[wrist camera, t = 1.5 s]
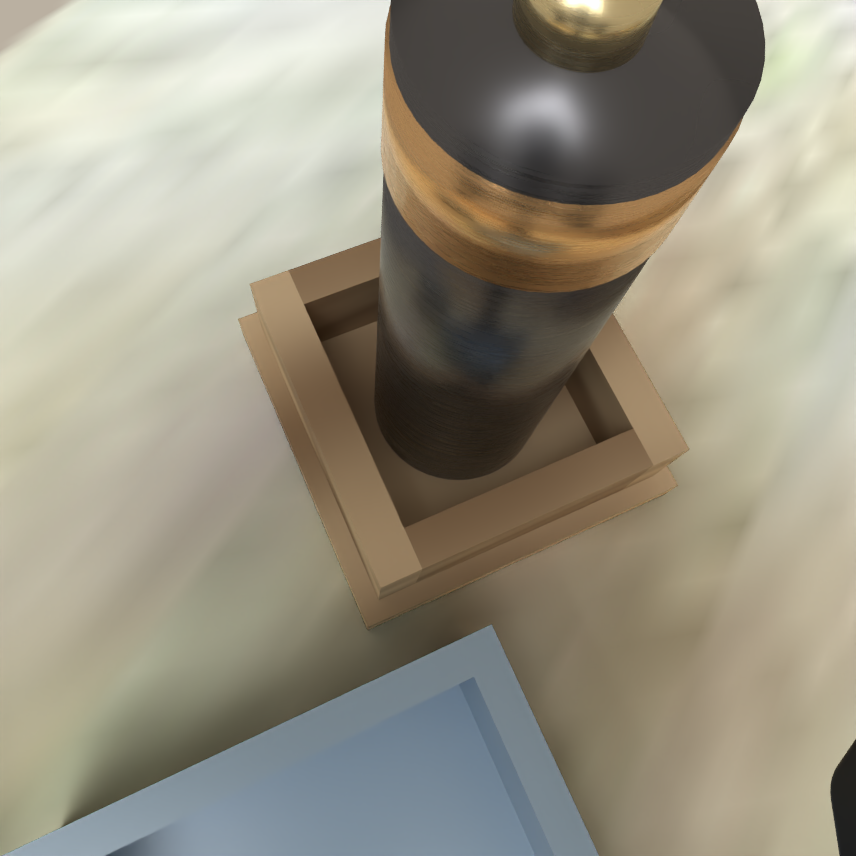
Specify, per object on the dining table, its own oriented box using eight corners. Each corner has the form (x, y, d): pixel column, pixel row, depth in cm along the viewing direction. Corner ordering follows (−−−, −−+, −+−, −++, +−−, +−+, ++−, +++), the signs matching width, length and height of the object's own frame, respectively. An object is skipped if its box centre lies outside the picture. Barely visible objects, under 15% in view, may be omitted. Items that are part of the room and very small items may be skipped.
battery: (566, 442, 21) (886, 56, 8) (414, 509, 21) (504, 192, 7) (493, 303, 23) (674, -229, 9) (346, 360, 22) (321, -142, 9)
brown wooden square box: (664, 494, 22) (717, 459, 19) (367, 630, 20) (369, 618, 17) (521, 232, 24) (546, 160, 21) (243, 334, 23) (223, 273, 19)
